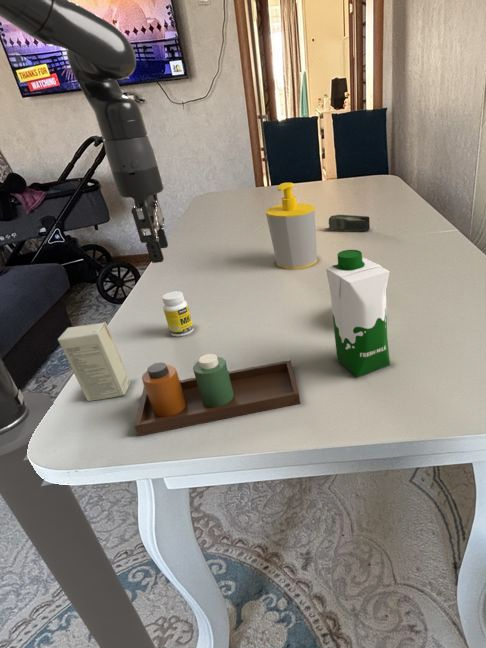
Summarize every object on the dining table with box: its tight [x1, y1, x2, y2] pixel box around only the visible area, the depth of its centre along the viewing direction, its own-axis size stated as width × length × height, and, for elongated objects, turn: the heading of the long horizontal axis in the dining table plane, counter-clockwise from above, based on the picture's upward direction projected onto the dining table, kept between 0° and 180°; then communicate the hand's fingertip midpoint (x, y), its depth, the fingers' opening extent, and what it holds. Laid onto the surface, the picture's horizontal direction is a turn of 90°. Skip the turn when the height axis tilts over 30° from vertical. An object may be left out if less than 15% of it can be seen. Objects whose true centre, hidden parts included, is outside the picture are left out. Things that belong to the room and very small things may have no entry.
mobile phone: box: [324, 214, 371, 232], centre depth 154 cm, size 5×3×15 cm
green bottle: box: [192, 353, 234, 407], centre depth 75 cm, size 5×5×8 cm
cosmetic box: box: [57, 321, 131, 402], centre depth 78 cm, size 6×4×12 cm
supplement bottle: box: [161, 290, 195, 337], centre depth 97 cm, size 5×5×8 cm
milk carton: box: [325, 249, 391, 378], centre depth 80 cm, size 9×9×20 cm
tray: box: [134, 359, 301, 437], centre depth 77 cm, size 25×11×2 cm, turn 105°
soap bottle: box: [265, 182, 318, 270], centre depth 127 cm, size 13×13×21 cm
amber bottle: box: [141, 362, 186, 417], centre depth 73 cm, size 5×5×8 cm
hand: (160, 254), depth 90 cm, fingers open, 8 cm apart
